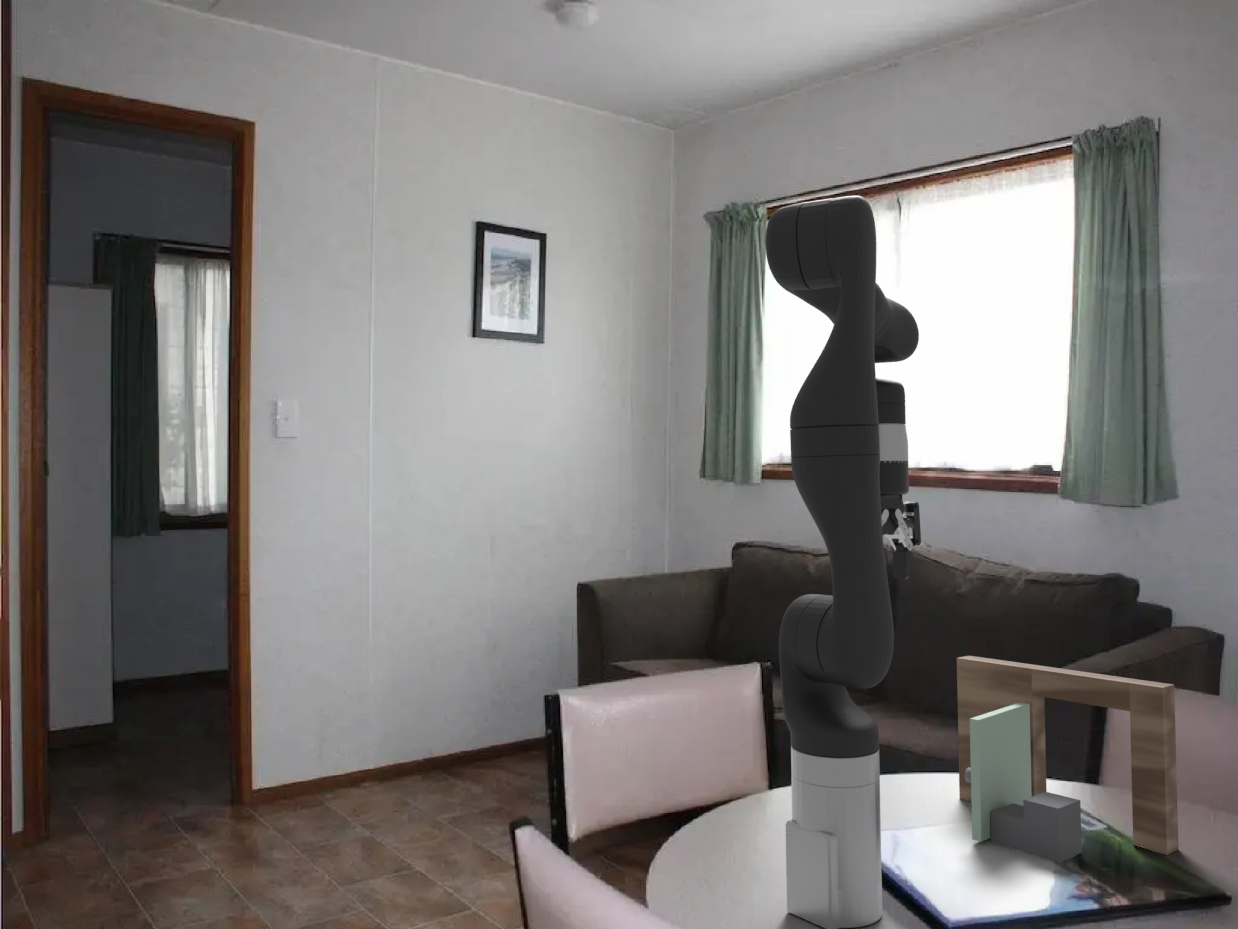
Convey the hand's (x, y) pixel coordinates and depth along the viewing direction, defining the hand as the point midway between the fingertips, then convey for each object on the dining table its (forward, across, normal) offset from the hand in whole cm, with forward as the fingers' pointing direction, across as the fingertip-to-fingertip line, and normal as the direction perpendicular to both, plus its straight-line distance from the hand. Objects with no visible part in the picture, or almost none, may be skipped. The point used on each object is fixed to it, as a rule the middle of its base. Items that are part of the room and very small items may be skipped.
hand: (881, 580), depth 134 cm
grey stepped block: (+32, +7, -17) cm, 37 cm away
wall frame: (+32, +18, -14) cm, 39 cm away
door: (+32, +9, -11) cm, 35 cm away
